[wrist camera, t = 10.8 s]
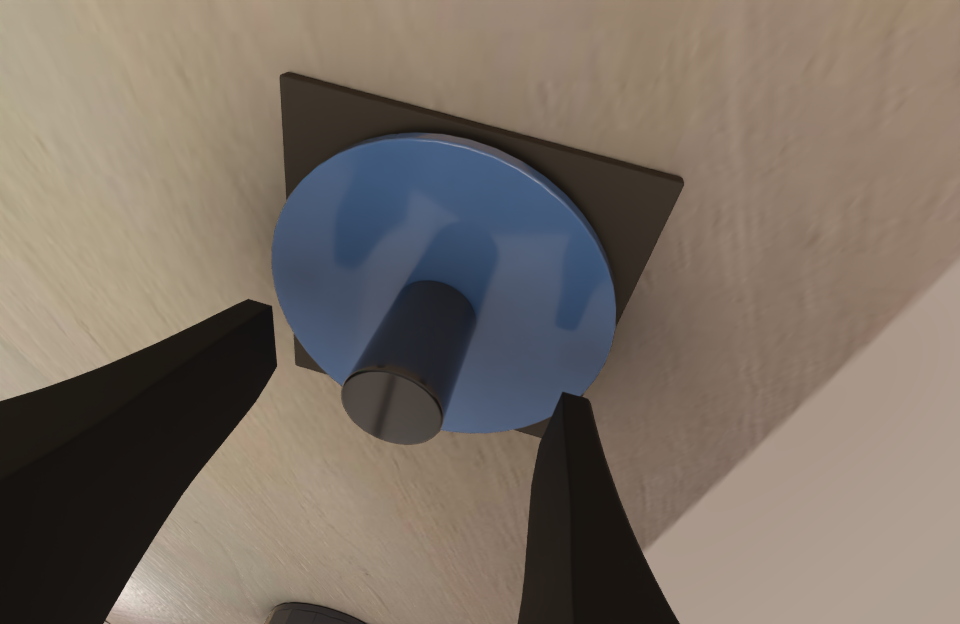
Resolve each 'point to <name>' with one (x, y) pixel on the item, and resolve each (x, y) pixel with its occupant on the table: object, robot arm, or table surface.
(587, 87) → the table surface
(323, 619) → the pot
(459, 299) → the lid
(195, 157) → the table surface
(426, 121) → the mat
